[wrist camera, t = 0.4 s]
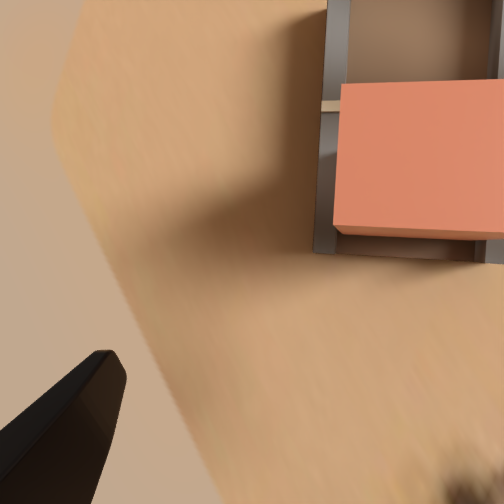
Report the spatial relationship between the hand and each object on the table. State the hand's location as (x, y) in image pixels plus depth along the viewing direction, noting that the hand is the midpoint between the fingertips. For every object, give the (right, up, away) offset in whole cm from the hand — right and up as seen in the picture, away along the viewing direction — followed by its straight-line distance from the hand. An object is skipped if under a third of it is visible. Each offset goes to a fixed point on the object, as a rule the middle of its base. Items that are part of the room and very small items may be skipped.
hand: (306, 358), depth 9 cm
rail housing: (+7, +9, +14) cm, 18 cm away
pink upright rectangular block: (+7, +5, +12) cm, 15 cm away
